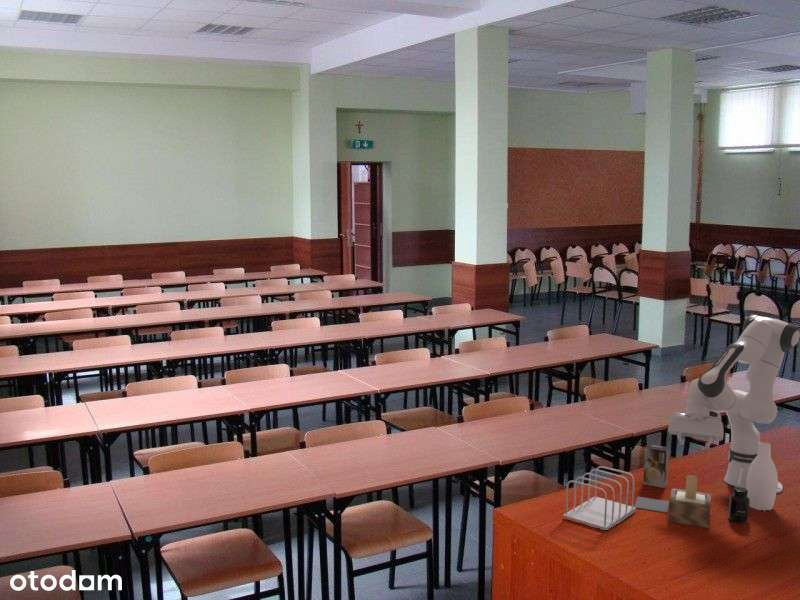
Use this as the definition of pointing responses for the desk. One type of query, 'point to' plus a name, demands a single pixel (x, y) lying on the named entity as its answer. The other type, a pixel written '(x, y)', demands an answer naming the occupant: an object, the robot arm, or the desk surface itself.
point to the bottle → (762, 479)
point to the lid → (691, 492)
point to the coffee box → (655, 465)
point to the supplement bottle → (739, 505)
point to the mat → (652, 504)
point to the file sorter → (600, 503)
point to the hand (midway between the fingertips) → (694, 446)
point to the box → (689, 510)
